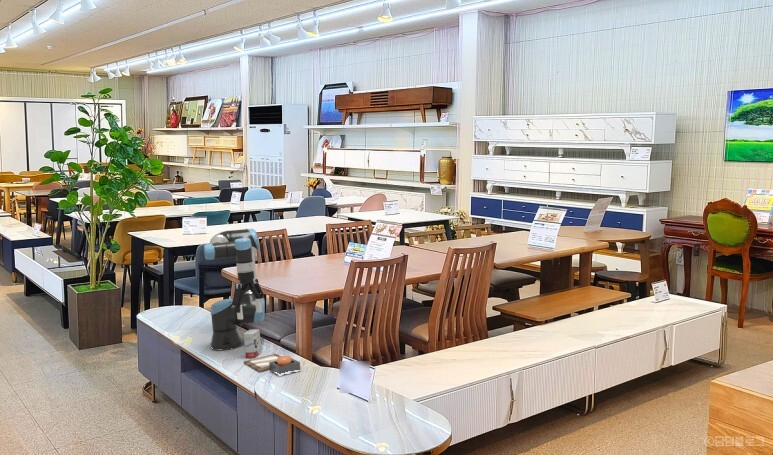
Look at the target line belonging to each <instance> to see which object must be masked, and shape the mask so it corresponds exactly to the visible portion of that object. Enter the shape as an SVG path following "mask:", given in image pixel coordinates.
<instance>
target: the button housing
mask: <svg viewBox="0 0 773 455" xmlns="http://www.w3.org/2000/svg"><path fill="white" fill-rule="evenodd" d="M269 367H270V370H269V372H270V373H273V374H274V372H277V373H279V374H281V373H285V372H288V371H294V370H300V369H301V362H300V361H298V360H296V359H294V358H292V357H291V363H290V364H286V365H282V366H280V365H278V364H277V361H273V362H269Z"/></svg>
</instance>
